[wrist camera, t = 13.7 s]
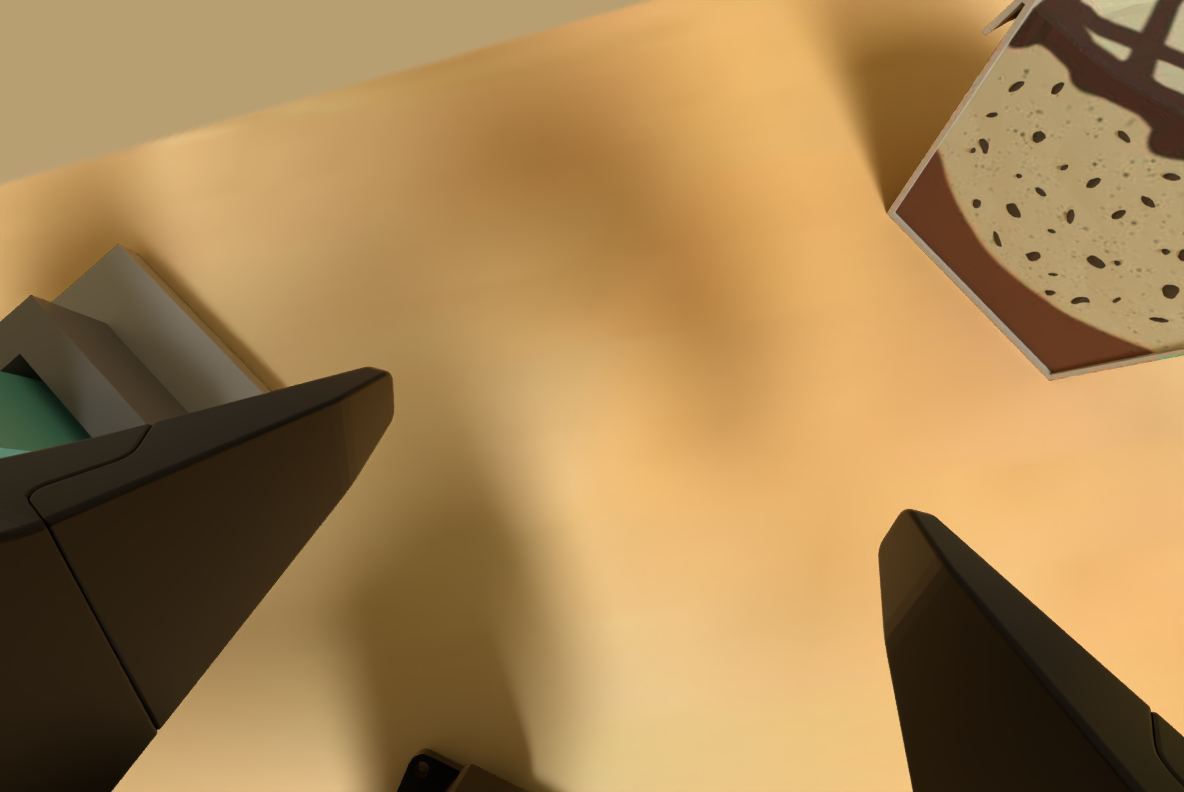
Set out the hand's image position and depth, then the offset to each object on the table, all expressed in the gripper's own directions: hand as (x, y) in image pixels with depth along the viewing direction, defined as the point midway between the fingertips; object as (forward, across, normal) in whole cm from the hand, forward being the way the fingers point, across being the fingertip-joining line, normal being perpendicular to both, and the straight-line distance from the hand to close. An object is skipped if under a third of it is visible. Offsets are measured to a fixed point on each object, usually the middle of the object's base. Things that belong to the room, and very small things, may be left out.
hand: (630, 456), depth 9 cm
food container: (+19, -14, -1) cm, 23 cm away
